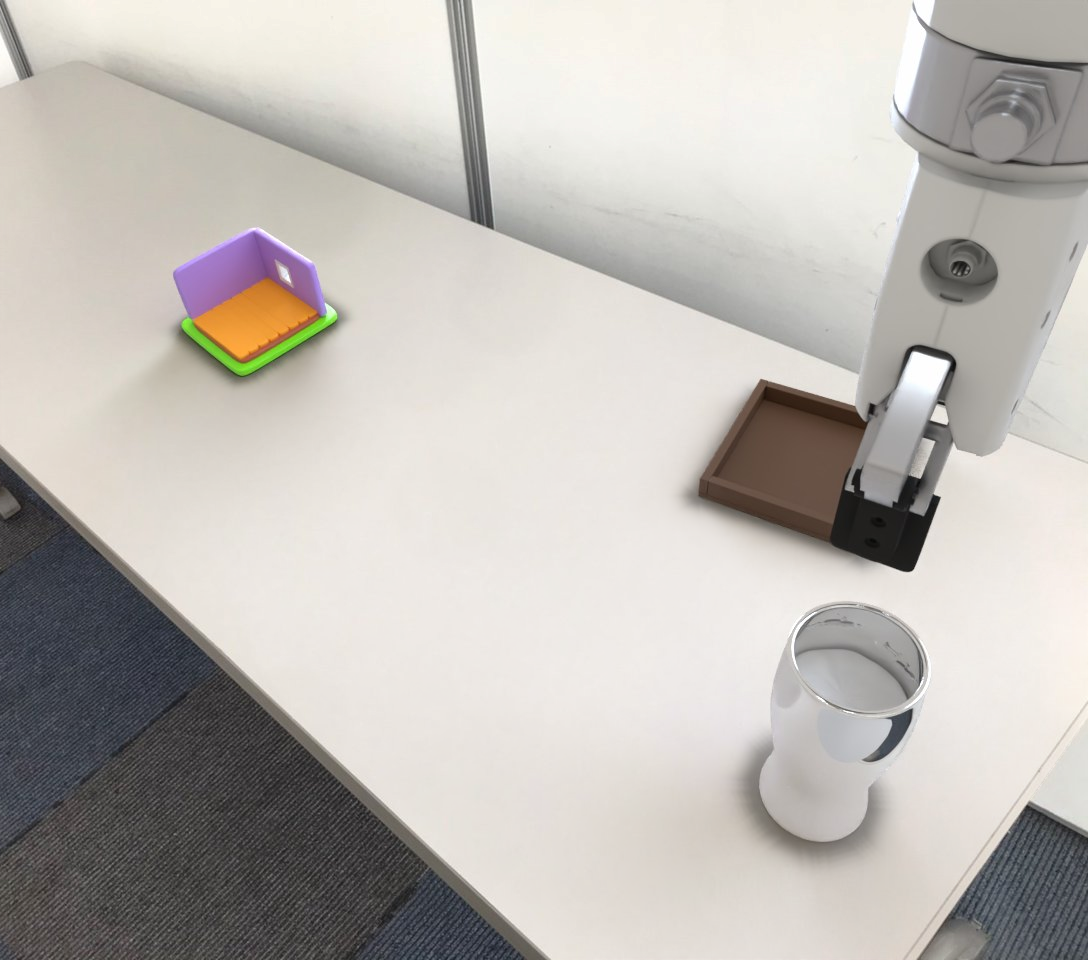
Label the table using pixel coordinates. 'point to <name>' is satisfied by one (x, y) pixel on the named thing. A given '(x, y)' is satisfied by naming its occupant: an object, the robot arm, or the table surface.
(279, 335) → the dollhouse room
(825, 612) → the beer glass
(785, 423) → the tray
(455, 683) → the table surface
